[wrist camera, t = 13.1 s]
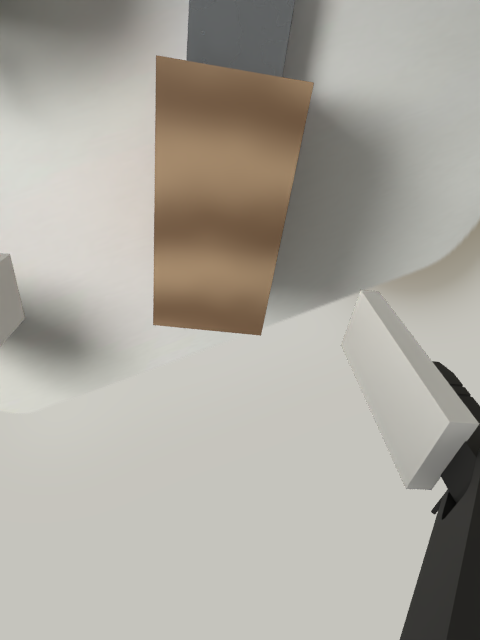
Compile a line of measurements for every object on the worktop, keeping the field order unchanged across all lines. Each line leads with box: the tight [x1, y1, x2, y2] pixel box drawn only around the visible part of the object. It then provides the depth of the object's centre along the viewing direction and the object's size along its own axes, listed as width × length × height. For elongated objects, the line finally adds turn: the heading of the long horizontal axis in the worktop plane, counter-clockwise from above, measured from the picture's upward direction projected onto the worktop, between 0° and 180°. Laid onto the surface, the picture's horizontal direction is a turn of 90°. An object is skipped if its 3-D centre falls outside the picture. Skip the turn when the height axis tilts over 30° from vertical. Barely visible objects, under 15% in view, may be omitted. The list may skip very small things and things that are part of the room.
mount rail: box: [187, 0, 295, 77], centre depth 26 cm, size 22×6×5 cm, turn 172°
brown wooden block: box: [153, 55, 314, 335], centre depth 25 cm, size 16×8×7 cm, turn 172°
